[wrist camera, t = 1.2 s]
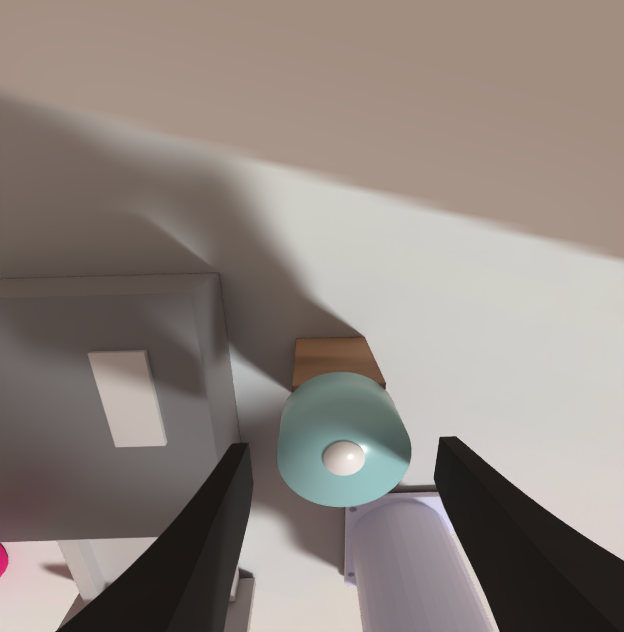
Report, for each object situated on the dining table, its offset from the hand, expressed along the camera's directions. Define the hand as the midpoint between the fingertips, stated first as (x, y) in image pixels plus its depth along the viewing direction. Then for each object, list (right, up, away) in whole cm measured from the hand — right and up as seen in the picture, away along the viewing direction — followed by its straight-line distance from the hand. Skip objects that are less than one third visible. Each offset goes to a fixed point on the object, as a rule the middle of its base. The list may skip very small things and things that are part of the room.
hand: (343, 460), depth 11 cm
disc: (0, +1, +2) cm, 2 cm away
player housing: (-13, +1, +7) cm, 15 cm away
